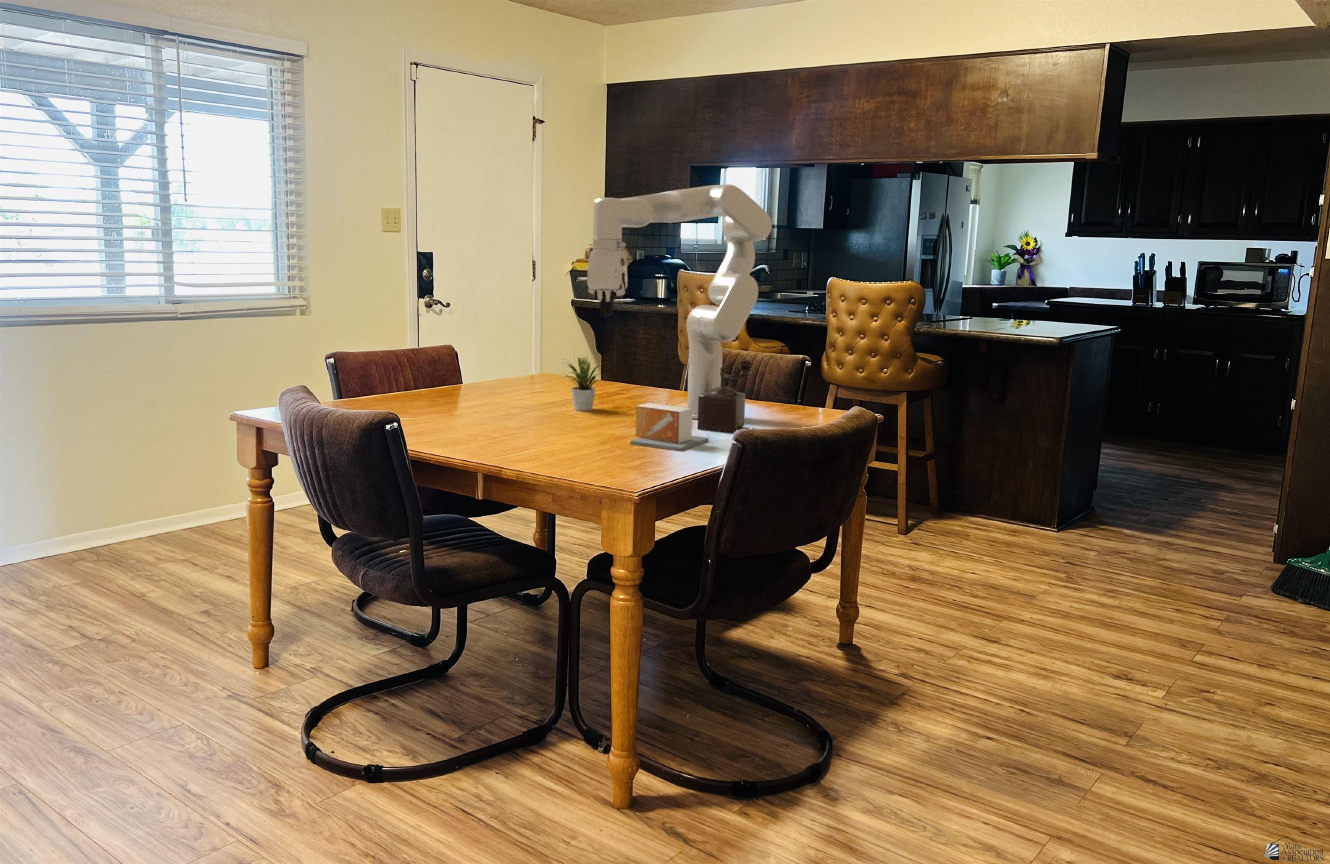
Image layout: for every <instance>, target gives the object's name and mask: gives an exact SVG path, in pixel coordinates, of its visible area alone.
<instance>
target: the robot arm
mask: <svg viewBox="0 0 1330 864" xmlns="http://www.w3.org/2000/svg"><path fill="white" fill-rule="evenodd" d="M592 210H593V211H592V213H593V214H592V215H593V216H592V217H593V218H592V221H593V222H592V223H593V224H592V227H593V228H592V250H590V254H589V259H588V265H587V279H586V280H587V286H588V290H587V292H588V293H589V294H591V295H594V296H595V297H596V298H597V300H598V302H599V312H600V314H599V315H600V317H601V318H610V317H612V315H613V310H614V309H613V307H614V306H613V304H614V302H615V300H616V299H617V297H620V296H624V295H625V294H626V289H628V267H627V258H626V254H625V252H624V251H622V250H623V248H625V247H626V245H627V244H626V242H623V228H642V227H643V228H644V227H646V226H648V225H649V224H650V223H651V224H653V223H669V224H670V223H671V224H672V223H682V222H688V221H694V220H700V219H708V218H709V219H710V218H715V217H723V220H722V225H721V226H722V231H723V234H724V237H725V238H724V239H725V242H726V252H725V255H724V257H723V260H722V262H721V264H720V265H719V267H718V269H717V271H716V273H715V275H714V276H713V278H712V280H711V281H710V283H709V286H708V291H707V293H708V298H709V299H710V301H711V302H712V303H714V304H715V305H709V304H701V305H697V306H695V307H694V308H692V309H691V310H690V312H689V313H688V315H687V319H686V332H687V338H688V371H687V373H688V374H687V399H686V400H687V403H686V404H687V406H686V407H687V408H692V420H693V419H694V420H698V396H699V395H701V394H703V393H706V392H709V391H711V390H712V389H714V388H717V387H720V385H721V375H720V372H721V371H720V368H721V367H723V348H722V344H721V343H729V342H731V341H733V340H734V339H736V337H738V335H739V334H740V333H741V331H742V329H743V327H744V325H745V324H746V322H747V320H748V318H749V316H750V314H751V312H752V310H753V308H754V307H755V305H756V303H757V300H758V297H759V287H758V282H757V281H756V279H755V278H754V277H753V276H752V275H750V274H751V272H752V270H753V268H754V265H755V261H756V252H755V247H754V243H753V242H760V241H763V240H764V239H765V240H766V239H767V238H768V236H769V235H770V233H771V231H772V220H771V218H770V217H771V216H770V215H769V214H768V213H767V211H766V210H765V209H764V208H762V207H761V206H760V204H758V203H757V202H756V201H755V200H754V199H752V198H751V197H750V196H749V195H748V194H747V193H746V192H744V191H743V190H742V188H739V187H738V186H736V185H734V184H714V185H713V184H712V185H703V186H697V187H689V188H682V189H674V190H667V191H663V192H659V193H651V194H645V195H638V196H637V195H636V196H631V197H629V196H628V197H623V198H618V197H616V198H615V197H597V198H596V199H594V201H593V209H592ZM718 305H719V306H718Z"/></svg>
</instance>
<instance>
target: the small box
mask: <svg viewBox="0 0 1330 864" xmlns="http://www.w3.org/2000/svg"><path fill="white" fill-rule="evenodd" d="M692 429H693V418H692V408H687V406H686V407H685V406H678V405H677V406H675V405H671V404H669V405H668V404H664V403H663V404H662V403H654V402H647V403H642V404H638V405H636V406H635V437H636V438H647V439H654V440H660V441H667V442H673V443H681V442H685V441H688V440H691V436H693V435H692Z"/></svg>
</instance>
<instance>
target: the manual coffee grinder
mask: <svg viewBox="0 0 1330 864" xmlns="http://www.w3.org/2000/svg"><path fill="white" fill-rule="evenodd" d="M738 367H739V369H740V374H739V375H729V374H726V372H725V370H726V368H725V367H723V366H722V367H721V368H720V371H721V372H720V375H721V385H720V387H717V388H714V389H712V390H711V391H709V392H706V393H703V394H701V395H699V396H698V419H697V430H699V429H700V430H701V431H708V430H710V432H718V431H720V433H731V434H733V432H734V433H736V432H737V431H736V430H738V429H740V430H742V429H743V428H744V427H745V412H746V410H745V409H746V393H745V392H739V391H736V387H733V388H732V387H729V386H725V378H727V379H731V380H738V379H744V380H745V379H746V378H749V377H750V371H751V370H752V369H753V367H754V364H753V362H752V361H751V360H750V359H749V360H748V359H742V360H741V361H739V363H738ZM743 426H744V427H743ZM741 428H742V429H741ZM735 431H736V432H735ZM738 431H739V430H738Z"/></svg>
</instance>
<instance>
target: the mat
mask: <svg viewBox="0 0 1330 864" xmlns="http://www.w3.org/2000/svg"><path fill="white" fill-rule="evenodd" d="M707 442H709V437H704V436H697V435H691V440H688V441H685V442H681V443H673V442H667V441H660V440H654V439H647V438H641V437H637V438H635V439H632V440H630V443H629V444H630V445H633V446H634V445H635V446H642V447H648V448H656V449H663V450H671V451H678V452H682V451H684V450H688V449H691V448H693V447H696V446H699V445H701V444H704V443H707Z"/></svg>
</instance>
